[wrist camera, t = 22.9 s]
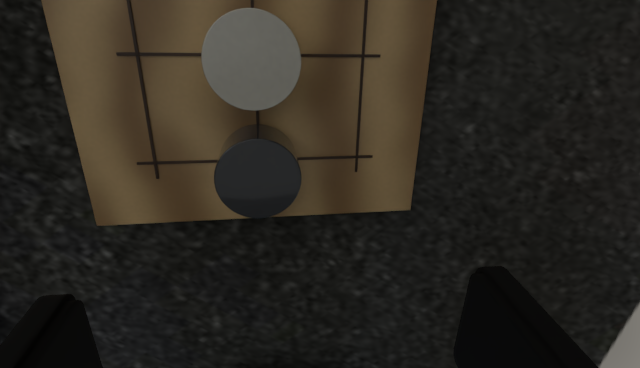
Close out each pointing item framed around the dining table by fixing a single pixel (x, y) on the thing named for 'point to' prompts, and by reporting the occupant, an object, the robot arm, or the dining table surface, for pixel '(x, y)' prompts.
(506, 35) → the dining table surface
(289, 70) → the white stone
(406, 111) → the board
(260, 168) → the hockey puck
